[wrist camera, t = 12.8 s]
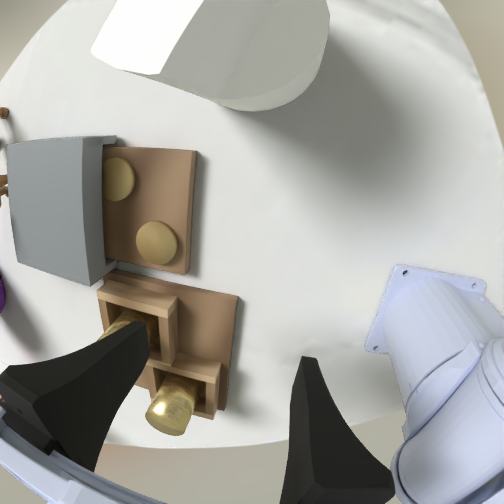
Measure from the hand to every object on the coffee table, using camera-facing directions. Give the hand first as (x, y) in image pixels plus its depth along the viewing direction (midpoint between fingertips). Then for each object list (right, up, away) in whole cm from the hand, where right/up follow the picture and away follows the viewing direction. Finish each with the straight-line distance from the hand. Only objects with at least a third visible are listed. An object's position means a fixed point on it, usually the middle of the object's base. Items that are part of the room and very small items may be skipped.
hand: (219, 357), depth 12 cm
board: (-7, +8, +9) cm, 14 cm away
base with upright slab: (+2, +18, +4) cm, 19 cm away
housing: (-14, +9, +9) cm, 19 cm away
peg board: (-6, -4, +13) cm, 15 cm away
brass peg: (-5, -7, +14) cm, 16 cm away
